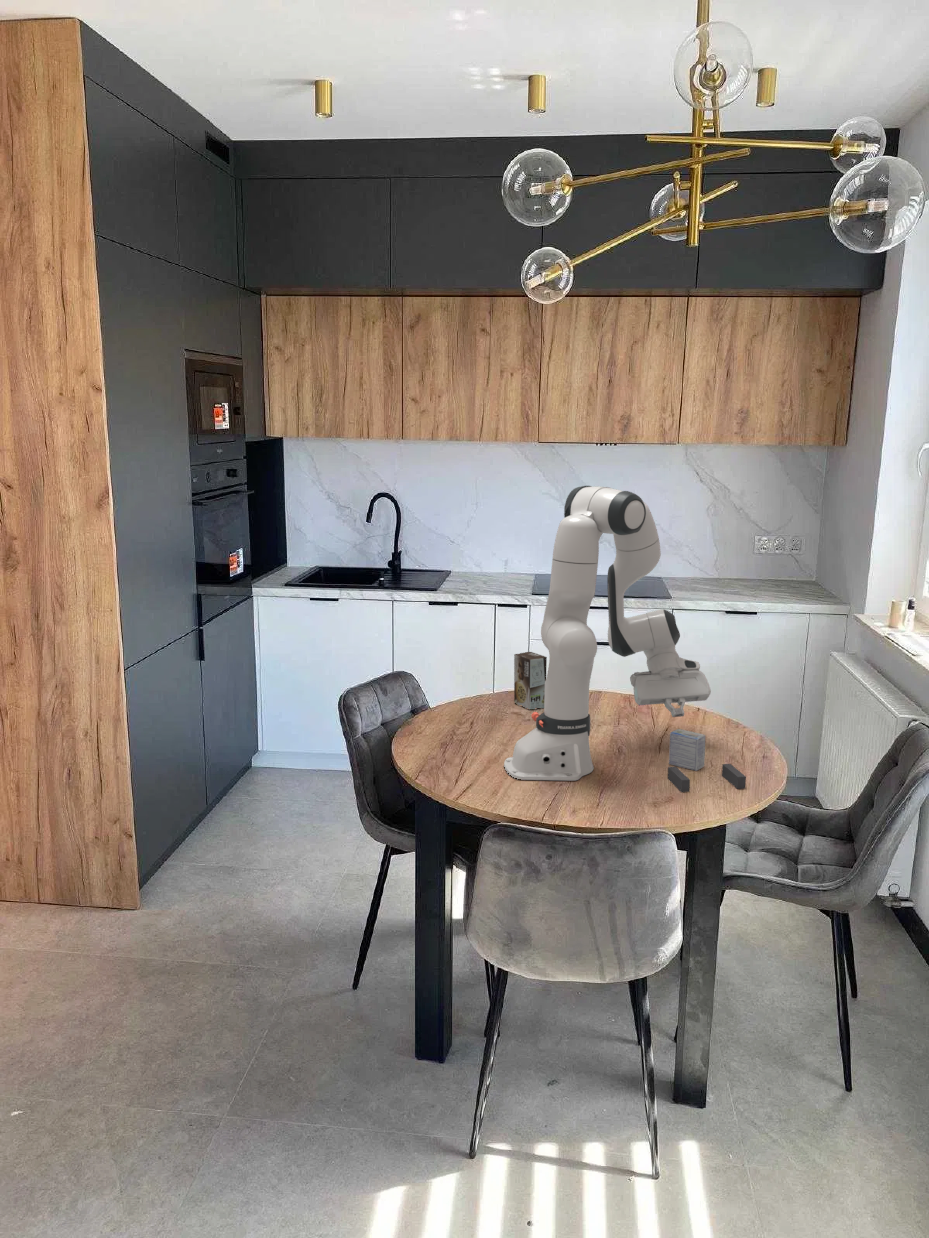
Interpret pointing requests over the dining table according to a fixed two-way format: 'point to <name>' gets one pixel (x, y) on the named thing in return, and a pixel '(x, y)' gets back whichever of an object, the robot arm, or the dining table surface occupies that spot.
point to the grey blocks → (727, 772)
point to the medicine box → (687, 749)
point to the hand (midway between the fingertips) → (678, 715)
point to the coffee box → (529, 679)
